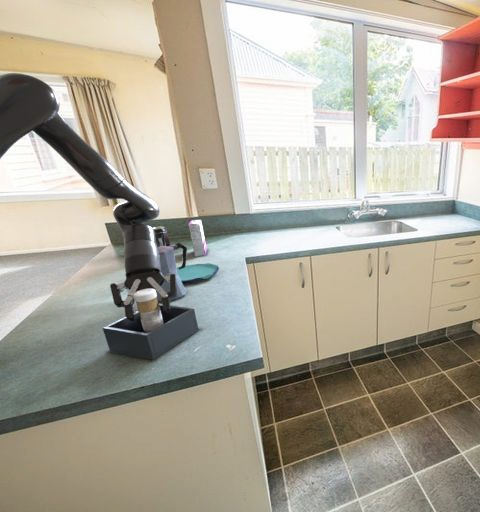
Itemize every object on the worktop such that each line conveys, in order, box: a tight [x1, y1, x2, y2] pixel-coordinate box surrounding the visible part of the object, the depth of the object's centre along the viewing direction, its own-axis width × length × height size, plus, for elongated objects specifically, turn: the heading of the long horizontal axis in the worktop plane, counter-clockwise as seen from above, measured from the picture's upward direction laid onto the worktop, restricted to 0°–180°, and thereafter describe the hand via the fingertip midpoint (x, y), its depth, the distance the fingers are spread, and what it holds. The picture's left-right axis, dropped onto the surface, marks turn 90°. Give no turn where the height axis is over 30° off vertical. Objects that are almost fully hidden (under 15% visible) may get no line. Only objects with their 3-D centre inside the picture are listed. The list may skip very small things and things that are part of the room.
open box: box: [102, 303, 199, 360], centre depth 78 cm, size 14×14×7 cm
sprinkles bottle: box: [133, 288, 164, 333], centre depth 77 cm, size 5×5×14 cm
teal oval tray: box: [176, 262, 220, 283], centre depth 120 cm, size 20×30×2 cm, turn 109°
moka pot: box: [156, 242, 188, 303], centre depth 102 cm, size 10×15×20 cm, turn 155°
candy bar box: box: [187, 219, 208, 257], centre depth 149 cm, size 11×5×16 cm, turn 26°
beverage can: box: [152, 226, 171, 247], centre depth 155 cm, size 7×7×12 cm
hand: (149, 316), depth 75 cm, fingers open, 6 cm apart
